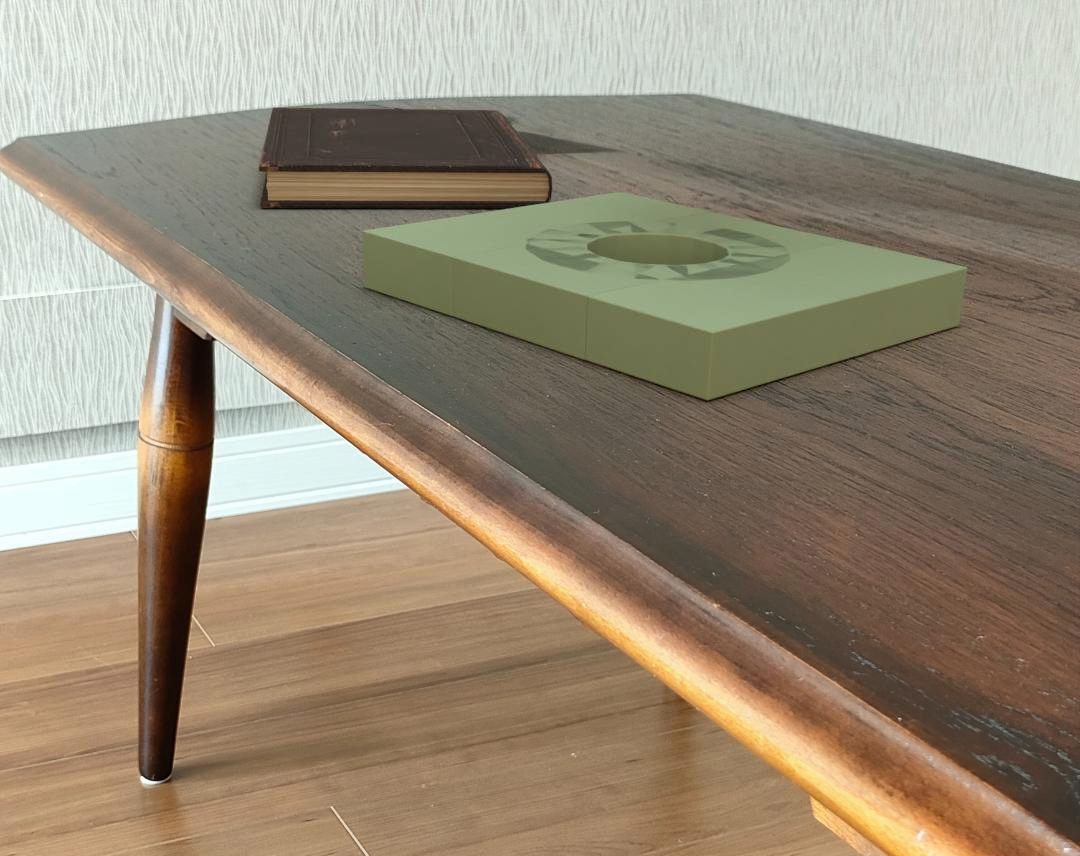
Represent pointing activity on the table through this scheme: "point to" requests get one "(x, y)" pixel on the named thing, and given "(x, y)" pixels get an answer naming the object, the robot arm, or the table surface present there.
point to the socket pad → (666, 288)
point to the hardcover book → (398, 160)
